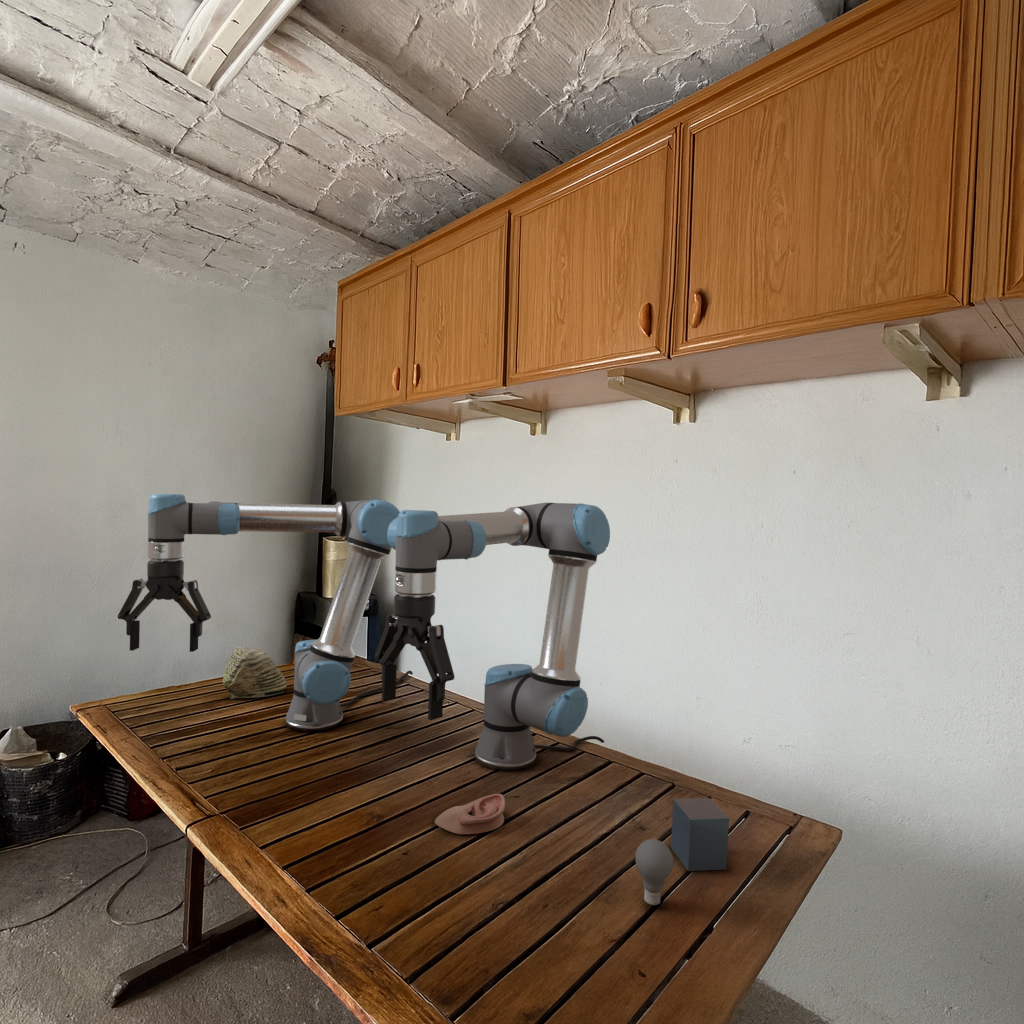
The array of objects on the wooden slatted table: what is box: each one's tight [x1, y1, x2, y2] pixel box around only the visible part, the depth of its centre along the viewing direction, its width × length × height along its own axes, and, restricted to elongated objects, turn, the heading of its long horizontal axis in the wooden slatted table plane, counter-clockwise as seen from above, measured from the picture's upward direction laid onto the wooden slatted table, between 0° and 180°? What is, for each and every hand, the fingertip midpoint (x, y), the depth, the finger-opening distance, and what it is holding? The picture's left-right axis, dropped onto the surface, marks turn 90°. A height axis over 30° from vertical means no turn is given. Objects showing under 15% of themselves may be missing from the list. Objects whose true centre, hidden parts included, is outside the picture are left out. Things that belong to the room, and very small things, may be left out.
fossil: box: [222, 646, 288, 699], centre depth 198 cm, size 9×18×15 cm, turn 132°
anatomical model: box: [434, 793, 506, 835], centre depth 126 cm, size 13×4×12 cm
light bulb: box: [634, 838, 674, 906], centre depth 103 cm, size 6×6×10 cm
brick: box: [670, 797, 730, 872], centre depth 117 cm, size 7×8×9 cm
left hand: (164, 649), depth 149 cm, fingers open, 13 cm apart
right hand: (411, 708), depth 117 cm, fingers open, 13 cm apart
